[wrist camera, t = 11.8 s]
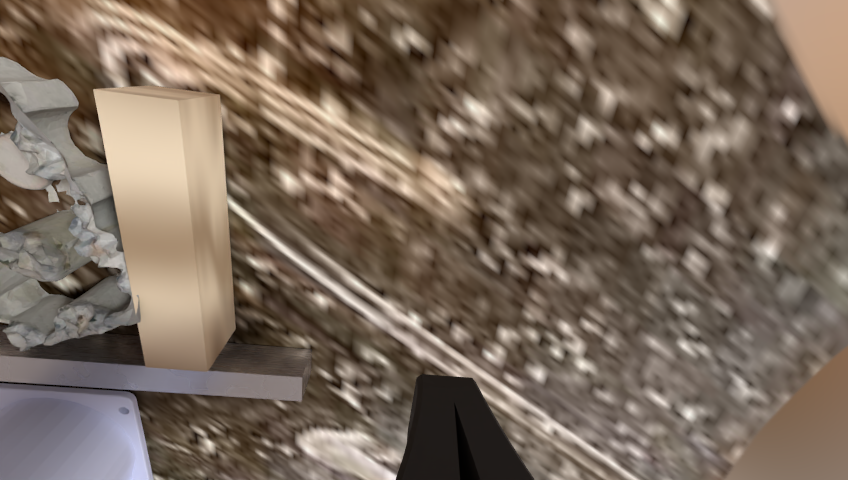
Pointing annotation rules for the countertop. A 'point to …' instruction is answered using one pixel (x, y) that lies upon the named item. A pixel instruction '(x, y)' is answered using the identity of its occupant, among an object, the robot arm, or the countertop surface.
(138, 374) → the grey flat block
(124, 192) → the block
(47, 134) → the egg carton
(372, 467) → the countertop surface
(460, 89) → the countertop surface
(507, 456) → the robot arm
